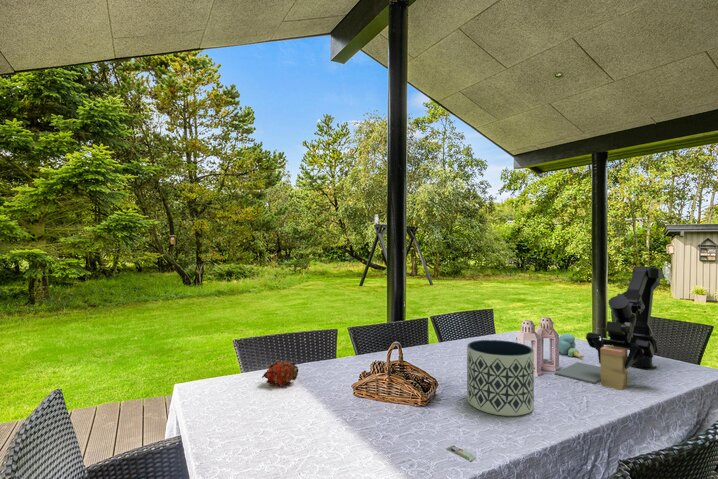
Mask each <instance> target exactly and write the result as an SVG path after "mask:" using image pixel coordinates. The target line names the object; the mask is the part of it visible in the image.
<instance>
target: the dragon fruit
mask: <svg viewBox="0 0 718 479" xmlns="http://www.w3.org/2000/svg"><path fill="white" fill-rule="evenodd" d="M283 361H284V362H283ZM283 361H279V360H278V361H275V362H274V363H273V364H270V365H269V368H268V369H266V372H264V374H263V375H262V377H261V378H262V379H267V380H265V382H266V384H268V385H271V386H272V385H273V386H279V385H280V388H282V387H283V386H285V385H286V386H288V385H290V384H291V381H296V380H297V377H298V374H299V371H300V370H299V369H298V368H299V367H298V366H297V365H295V363H294V362H290V361H288V360H286V359H283Z"/></svg>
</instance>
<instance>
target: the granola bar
mask: <svg viewBox="0 0 718 479" xmlns="http://www.w3.org/2000/svg"><path fill="white" fill-rule="evenodd" d="M446 450H447V451H450V452H452V453H453V454H455V455H458V456H460V457H462V458H464V459H465V460H467V461H469V462H472V461H474V460H475V459H476V458H477V456H475V455H473V454H472V453H470V452H468V451H466V450H465V449H462V448H460V447H458V446H456V445H451V446H448V447H447V448H446Z"/></svg>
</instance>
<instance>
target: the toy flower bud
mask: <svg viewBox="0 0 718 479" xmlns="http://www.w3.org/2000/svg"><path fill="white" fill-rule="evenodd" d="M558 338H559V349H560V351H559V352H560V353H561V355H567V356H568V357H570V358H573V357H577V358H580V359H583V358H584V354H580V352H579V350H578V349H577V348H576V342H575V341H576V338H575V336H574V335H573V334H571V333H563V334H561V335H560V336H559V337H558Z"/></svg>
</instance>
